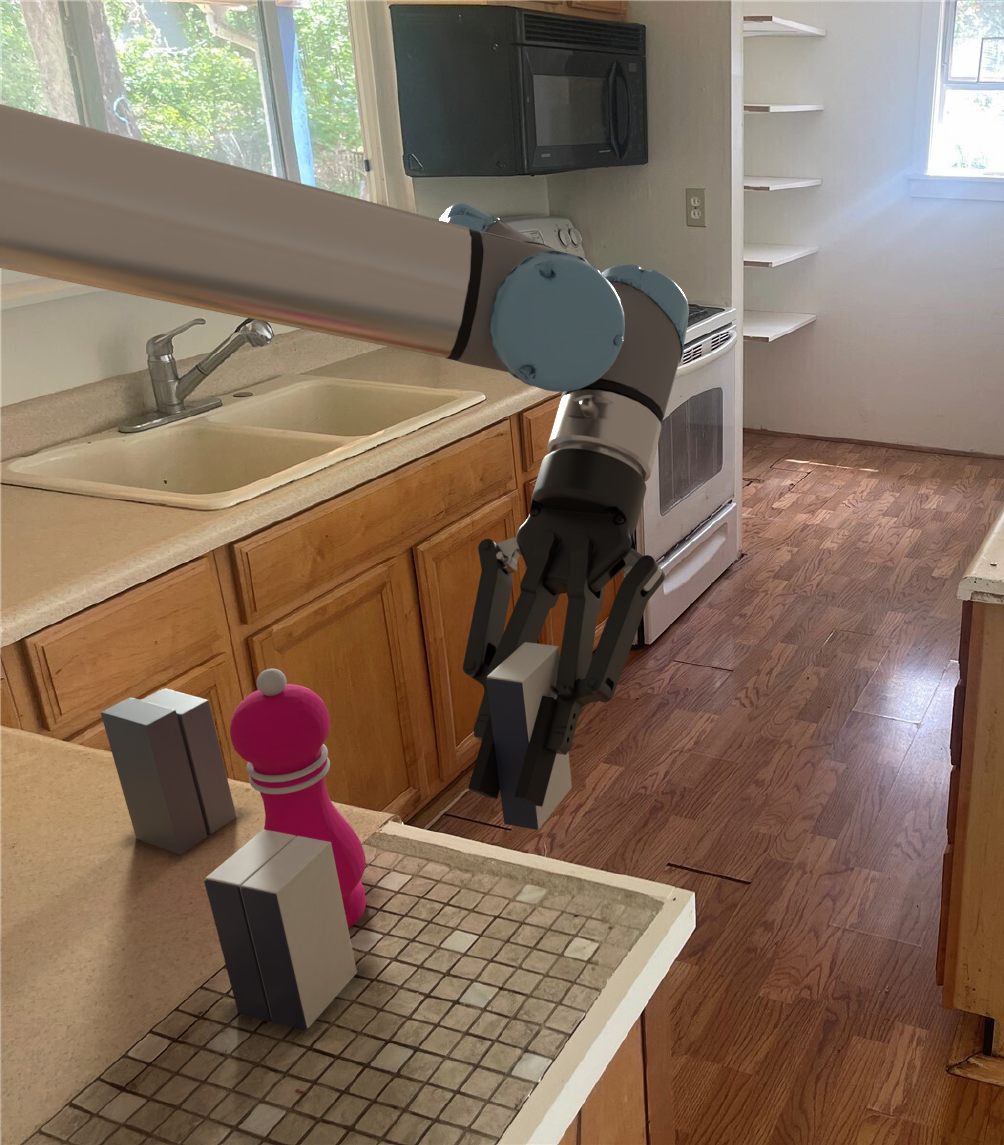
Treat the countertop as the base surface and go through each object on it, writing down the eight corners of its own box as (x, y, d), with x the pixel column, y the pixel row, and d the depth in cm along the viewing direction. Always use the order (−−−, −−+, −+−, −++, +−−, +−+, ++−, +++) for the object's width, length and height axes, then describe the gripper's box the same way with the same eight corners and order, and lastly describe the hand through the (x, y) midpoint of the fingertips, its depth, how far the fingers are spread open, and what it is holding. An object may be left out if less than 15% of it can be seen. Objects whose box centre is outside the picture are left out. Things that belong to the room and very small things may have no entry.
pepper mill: (375, 939, 74) (328, 686, 67) (262, 965, 72) (200, 706, 64) (373, 876, 81) (329, 638, 73) (269, 898, 78) (213, 655, 71)
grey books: (182, 860, 83) (146, 725, 78) (137, 844, 85) (99, 711, 80) (238, 822, 87) (207, 693, 83) (194, 808, 89) (162, 680, 84)
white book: (503, 825, 70) (485, 677, 66) (539, 782, 75) (524, 641, 71) (537, 831, 70) (521, 682, 66) (572, 787, 74) (559, 645, 70)
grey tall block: (239, 1020, 68) (202, 879, 64) (293, 963, 72) (262, 828, 68) (307, 1037, 66) (275, 894, 62) (358, 978, 71) (331, 841, 67)
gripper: (475, 435, 75) (366, 766, 66) (685, 451, 71) (598, 805, 62) (518, 485, 81) (425, 791, 73) (713, 502, 77) (638, 827, 69)
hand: (505, 797), depth 68 cm, fingers closed on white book, 2 cm apart
